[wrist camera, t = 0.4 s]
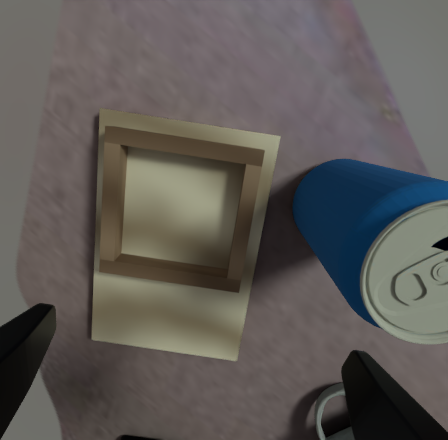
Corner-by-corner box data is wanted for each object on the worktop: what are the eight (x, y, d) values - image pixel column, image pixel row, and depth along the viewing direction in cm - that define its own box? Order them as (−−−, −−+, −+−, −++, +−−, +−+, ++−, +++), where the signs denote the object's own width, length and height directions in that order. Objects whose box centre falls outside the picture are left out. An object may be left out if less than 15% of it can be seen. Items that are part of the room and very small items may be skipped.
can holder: (236, 352, 26) (237, 374, 24) (96, 332, 26) (82, 352, 24) (278, 136, 21) (284, 136, 19) (105, 109, 21) (89, 106, 19)
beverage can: (395, 216, 23) (564, 304, 11) (316, 259, 24) (394, 380, 12) (356, 139, 21) (503, 148, 10) (274, 189, 22) (318, 250, 11)
